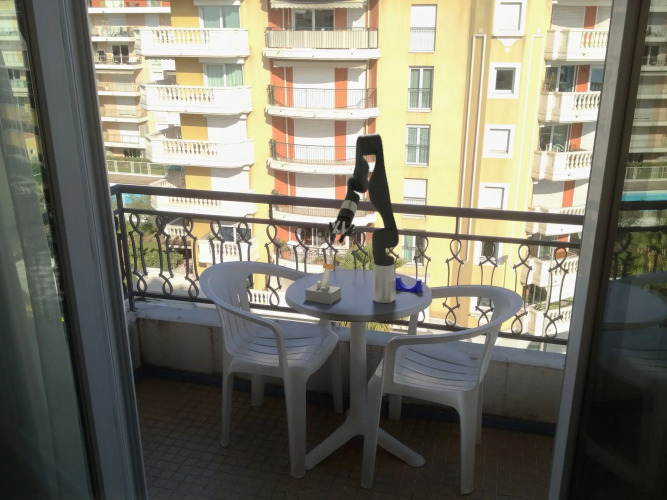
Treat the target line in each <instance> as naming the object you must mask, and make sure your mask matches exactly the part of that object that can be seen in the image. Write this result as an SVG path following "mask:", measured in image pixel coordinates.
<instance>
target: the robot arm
mask: <svg viewBox="0 0 667 500" xmlns="http://www.w3.org/2000/svg"><path fill="white" fill-rule="evenodd" d="M383 145H384V144H383V140H382V137H381V135H380V134H379V133H375V132H374V133H369V134H362V135H359V136H358V137H357V139H356V143H355V158H354V159H355V161H354V162H355V163H354V169H353V173H352V175H351V176H349V177H348V180H347V181H346V182H347V184H346V194H345V197H344V200H343V202H342V204H341V206H340V208H339V211H338V214H337V217H336V219H335V221H333V222H332V221H329V222H328V229H329V233H330V235H331V236H330V239H329V240H330V242H331V243H332V244H333V243H334V242H335V240H336V238H337V235H338V234H339V233H340V232H341V234H340V237H339V239H338V243H339V244H343V243H344V242H345V241H344V240H345V238H346V237H350V236H351V235H352V234H353V233H354V231H355V230H356V228H357V226H356V225H355V224H354V223H353V220H354V218H355V216H356V212H357V208H358V206H359V203H360V201H361V196H360V194H366V193H368V198H369V201H370V204H371V205H372V206H373V207H374V209H375V211H377V212H378V214H379V215H380V217H381V219H382V223H383V227H382V228H381V227H380V228H376V229H375V230H373V232H372V235H371V248H372V249H371V251H372V259H373V288H372V289H373V293H372V294H373V295H372V296H373V297H372V298H373V301H374V302H376V303H378V304H379V303H381V304H386V303H387V304H392V302H394V301H395V300H396V291H397V290H396V278H395V259H396V258H395V257H394V256H393V255H389V254H387V249H392V248H396V247H397V246H398V244H399V242H400V236H399V235H400V234H399V230H398V227H397V223H396V220H395V215H394V210H393V205H392V201H391V192H390V188H389V181H388V177H387V171H386V166H385V156H384V146H383ZM368 156H374V159H375V160H374V167H373V170H372V173H371V174H370V177H368V176H369V172H370V164H369V162H368V161H367V159H365V157H368ZM358 193H359V194H358Z"/></svg>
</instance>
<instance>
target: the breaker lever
mask: <svg viewBox="0 0 667 500" xmlns="http://www.w3.org/2000/svg"><path fill="white" fill-rule="evenodd" d="M322 268H323V269H324V272H323V276H322V281H321V286H322V287H325V283H327V282H329V278H330V275H331V271H334V269H335V265H334V264H332V263H323V264H322Z"/></svg>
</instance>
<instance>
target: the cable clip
mask: <svg viewBox="0 0 667 500" xmlns="http://www.w3.org/2000/svg"><path fill="white" fill-rule="evenodd" d="M395 280H396V291H402V290H403V292H410V293H415V292H416V293H418V294H420V293H421V292H422V291H423V283H422V281H423V280H422V279H421V278H418V279H417V280H416V282H415V285H410V286H407V285H406V284H404V282H403V280H402V276H400V275H399V276H396V277H395Z"/></svg>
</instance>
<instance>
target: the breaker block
mask: <svg viewBox="0 0 667 500" xmlns="http://www.w3.org/2000/svg"><path fill="white" fill-rule="evenodd" d="M321 284H322V281H321V280H318V281H316V283H315V284H312V285H311V286H310V287H308V288H306V289H305V294H304V295H305V301H307V302H315V303H320V304H326V305H332V304H333V305H334V303H336V302H337V301H338V300H339V301H340V300H341V298H342V287H339V286H333V285H331V284H330V282H329V281H328V282H327V283H325V287H322V286H321Z"/></svg>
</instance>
